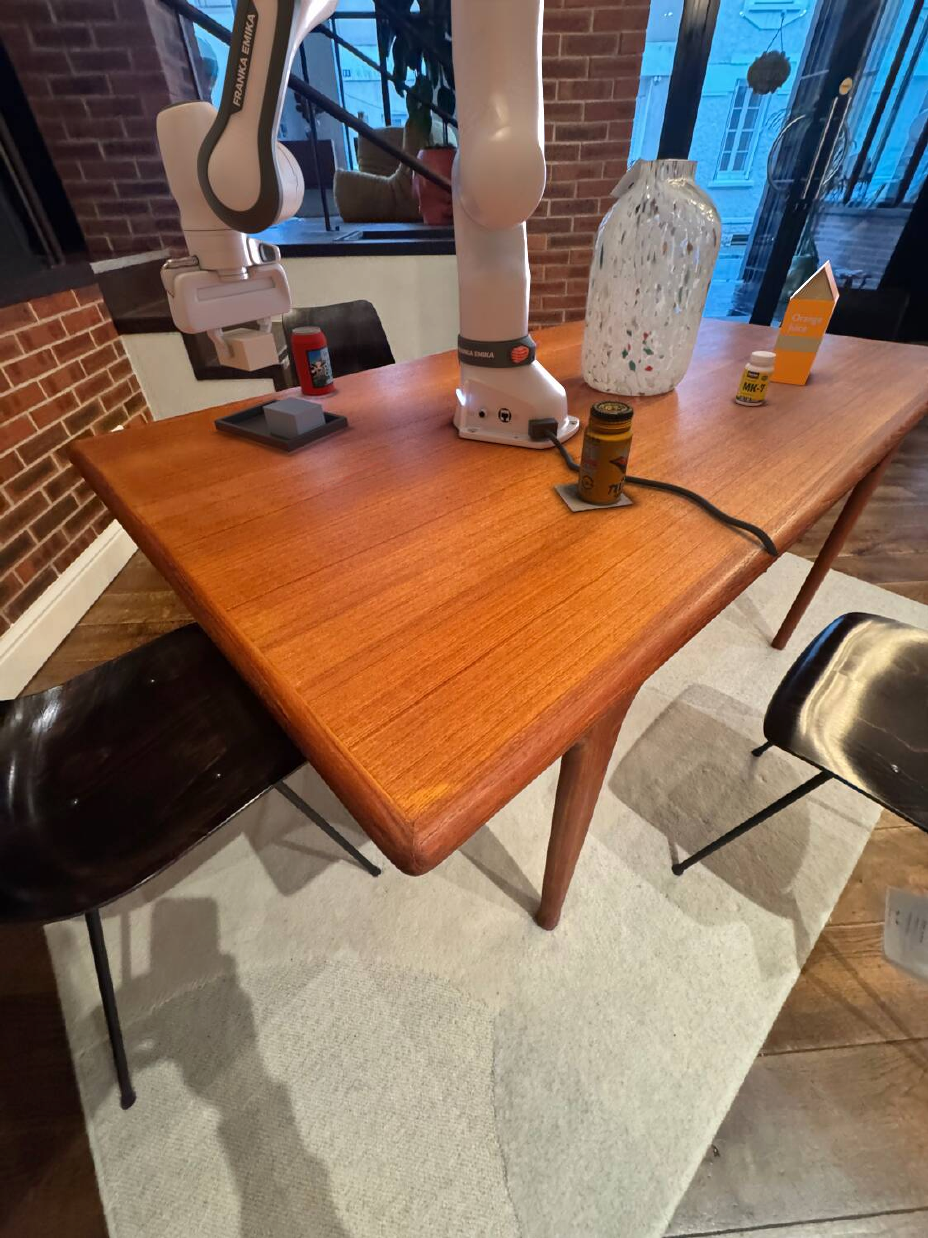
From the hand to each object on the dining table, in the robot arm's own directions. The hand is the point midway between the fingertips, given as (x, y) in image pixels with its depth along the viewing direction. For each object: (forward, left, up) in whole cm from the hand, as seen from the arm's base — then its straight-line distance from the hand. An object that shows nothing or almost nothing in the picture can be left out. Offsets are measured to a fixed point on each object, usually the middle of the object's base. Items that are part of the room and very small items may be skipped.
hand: (247, 352), depth 87 cm
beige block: (0, 0, -2) cm, 2 cm away
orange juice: (-73, -76, -13) cm, 106 cm away
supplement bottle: (-70, -56, -13) cm, 91 cm away
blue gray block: (-9, 0, -12) cm, 15 cm away
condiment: (-61, -6, -13) cm, 63 cm away
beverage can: (+6, -18, -13) cm, 23 cm away
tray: (-4, 0, -12) cm, 13 cm away
